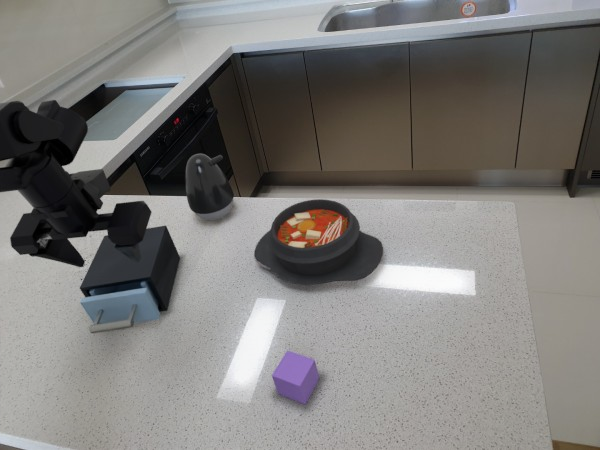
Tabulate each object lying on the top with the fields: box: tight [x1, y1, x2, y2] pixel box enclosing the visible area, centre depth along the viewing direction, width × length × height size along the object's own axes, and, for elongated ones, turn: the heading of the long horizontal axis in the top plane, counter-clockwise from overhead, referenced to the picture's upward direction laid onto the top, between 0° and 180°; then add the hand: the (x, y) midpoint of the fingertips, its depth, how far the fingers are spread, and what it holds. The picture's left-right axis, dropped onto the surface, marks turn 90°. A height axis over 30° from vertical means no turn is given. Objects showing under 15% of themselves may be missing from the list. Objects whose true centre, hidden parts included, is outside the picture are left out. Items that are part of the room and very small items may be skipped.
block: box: [271, 349, 320, 405], centre depth 65 cm, size 4×4×4 cm
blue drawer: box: [79, 281, 161, 334], centre depth 82 cm, size 18×11×7 cm, turn 2°
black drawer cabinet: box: [79, 225, 181, 313], centre depth 87 cm, size 15×13×9 cm
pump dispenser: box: [184, 153, 235, 221], centre depth 101 cm, size 10×10×15 cm
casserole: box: [253, 198, 384, 286], centre depth 85 cm, size 25×19×8 cm
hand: (110, 262), depth 70 cm, fingers open, 9 cm apart
